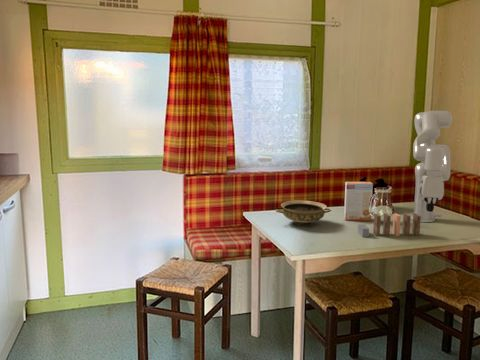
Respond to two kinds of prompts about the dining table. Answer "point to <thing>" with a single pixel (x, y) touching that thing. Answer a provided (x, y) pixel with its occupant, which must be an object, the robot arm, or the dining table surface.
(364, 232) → the end block
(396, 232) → the terracotta domino
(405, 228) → the walnut domino
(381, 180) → the coal bowl
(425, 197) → the robot arm
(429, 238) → the dining table surface
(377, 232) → the walnut domino
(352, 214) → the cracker box
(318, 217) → the ceramic bowl
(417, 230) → the walnut domino
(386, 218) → the walnut domino
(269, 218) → the dining table surface
